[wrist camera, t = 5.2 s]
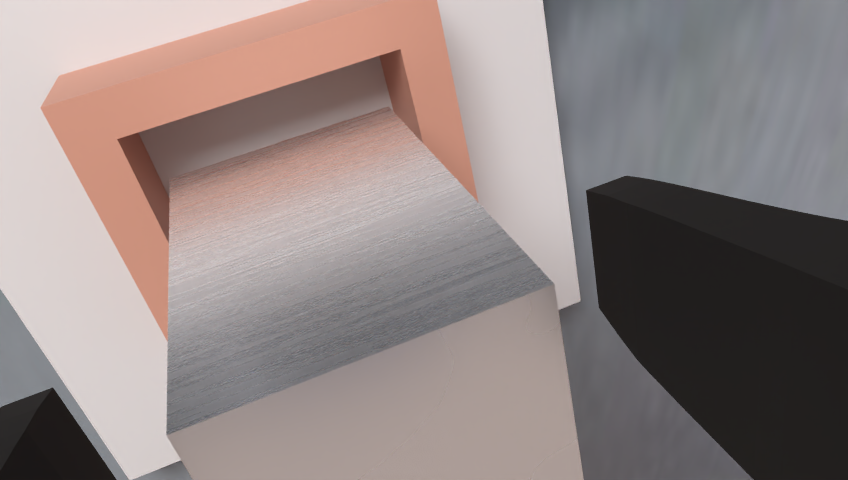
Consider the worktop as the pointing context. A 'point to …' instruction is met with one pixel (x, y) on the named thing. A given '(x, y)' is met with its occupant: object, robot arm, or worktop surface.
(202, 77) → the stand base
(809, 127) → the worktop surface
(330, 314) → the column
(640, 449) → the worktop surface
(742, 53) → the worktop surface
